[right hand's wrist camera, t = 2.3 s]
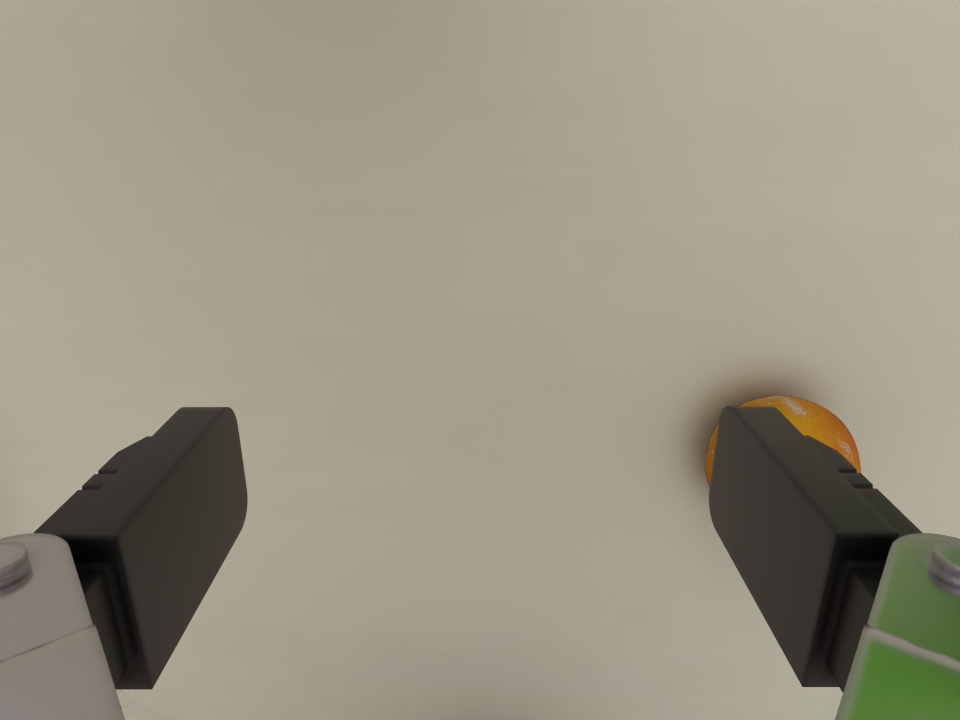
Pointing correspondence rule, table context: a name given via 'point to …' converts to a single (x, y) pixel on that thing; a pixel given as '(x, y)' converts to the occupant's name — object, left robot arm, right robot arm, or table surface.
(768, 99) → the table surface
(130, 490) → the right robot arm
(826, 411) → the fruit
